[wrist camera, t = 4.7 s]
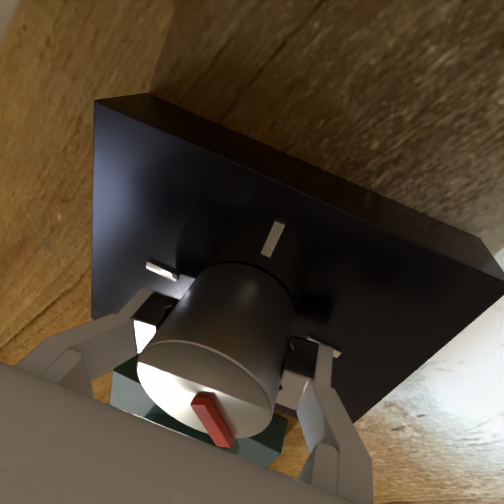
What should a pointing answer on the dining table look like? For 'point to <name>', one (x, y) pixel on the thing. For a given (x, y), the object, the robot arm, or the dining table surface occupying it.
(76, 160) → the dining table surface
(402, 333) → the hob panel
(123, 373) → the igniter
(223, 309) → the hob knob
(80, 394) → the robot arm
